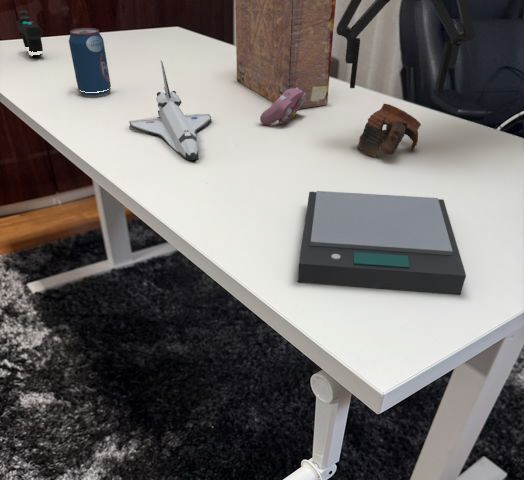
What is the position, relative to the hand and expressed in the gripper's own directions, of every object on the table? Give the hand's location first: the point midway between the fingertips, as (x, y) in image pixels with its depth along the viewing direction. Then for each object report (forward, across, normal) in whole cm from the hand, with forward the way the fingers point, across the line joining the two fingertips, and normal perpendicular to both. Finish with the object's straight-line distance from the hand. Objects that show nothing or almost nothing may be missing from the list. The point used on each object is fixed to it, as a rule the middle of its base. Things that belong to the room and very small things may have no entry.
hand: (395, 88), depth 86 cm
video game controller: (+10, +19, -14) cm, 26 cm away
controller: (+11, +89, -56) cm, 106 cm away
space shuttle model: (+11, +36, -2) cm, 38 cm away
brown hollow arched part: (+10, 0, 0) cm, 10 cm away
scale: (+10, +3, +33) cm, 35 cm away
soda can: (+11, +61, -26) cm, 67 cm away
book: (+11, +22, -33) cm, 41 cm away
